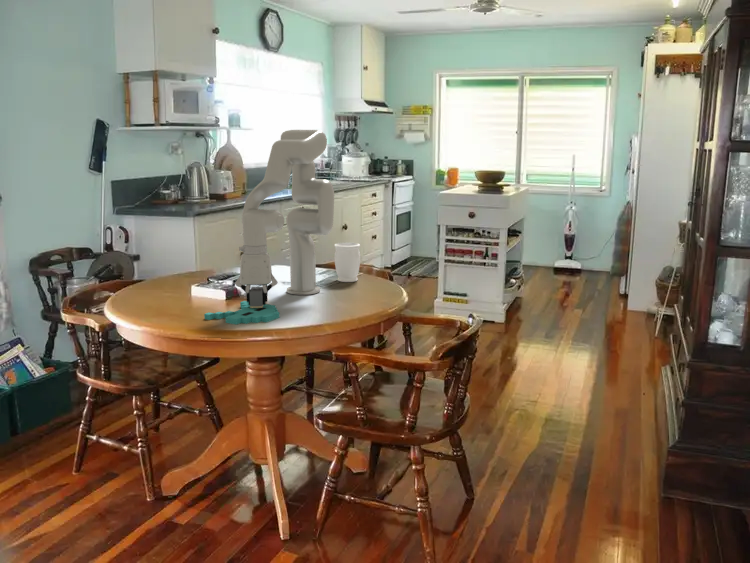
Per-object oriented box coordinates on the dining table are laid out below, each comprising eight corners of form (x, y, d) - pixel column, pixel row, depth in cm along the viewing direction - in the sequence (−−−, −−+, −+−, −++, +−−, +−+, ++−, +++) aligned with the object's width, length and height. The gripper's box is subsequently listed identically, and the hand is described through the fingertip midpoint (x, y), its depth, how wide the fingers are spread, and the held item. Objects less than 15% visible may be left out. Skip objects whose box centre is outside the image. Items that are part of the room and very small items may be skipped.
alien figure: (204, 320, 220) (253, 328, 211) (204, 313, 220) (253, 322, 210) (244, 307, 237) (291, 314, 228) (244, 300, 237) (291, 307, 227)
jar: (365, 279, 281) (365, 243, 277) (350, 284, 272) (350, 247, 269) (344, 276, 286) (344, 241, 283) (329, 281, 278) (329, 244, 275)
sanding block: (252, 302, 232) (251, 286, 230) (264, 302, 232) (263, 286, 231) (250, 307, 225) (249, 291, 224) (262, 307, 225) (261, 291, 224)
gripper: (227, 252, 220) (230, 307, 224) (279, 251, 221) (281, 306, 225) (231, 248, 228) (233, 301, 231) (281, 248, 229) (283, 301, 232)
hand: (257, 303), depth 228 cm, fingers closed on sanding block, 4 cm apart
